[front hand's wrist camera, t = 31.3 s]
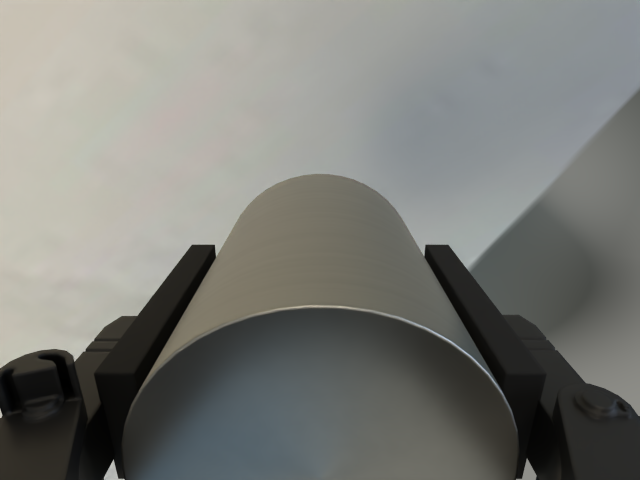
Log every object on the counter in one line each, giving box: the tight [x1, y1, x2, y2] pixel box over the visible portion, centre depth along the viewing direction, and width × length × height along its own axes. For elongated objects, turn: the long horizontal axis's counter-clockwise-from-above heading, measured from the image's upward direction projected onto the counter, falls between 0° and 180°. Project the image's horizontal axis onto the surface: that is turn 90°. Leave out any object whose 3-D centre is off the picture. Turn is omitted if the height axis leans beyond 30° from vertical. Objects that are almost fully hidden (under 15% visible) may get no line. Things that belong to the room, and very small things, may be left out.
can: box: [121, 174, 519, 480], centre depth 12 cm, size 7×7×9 cm
